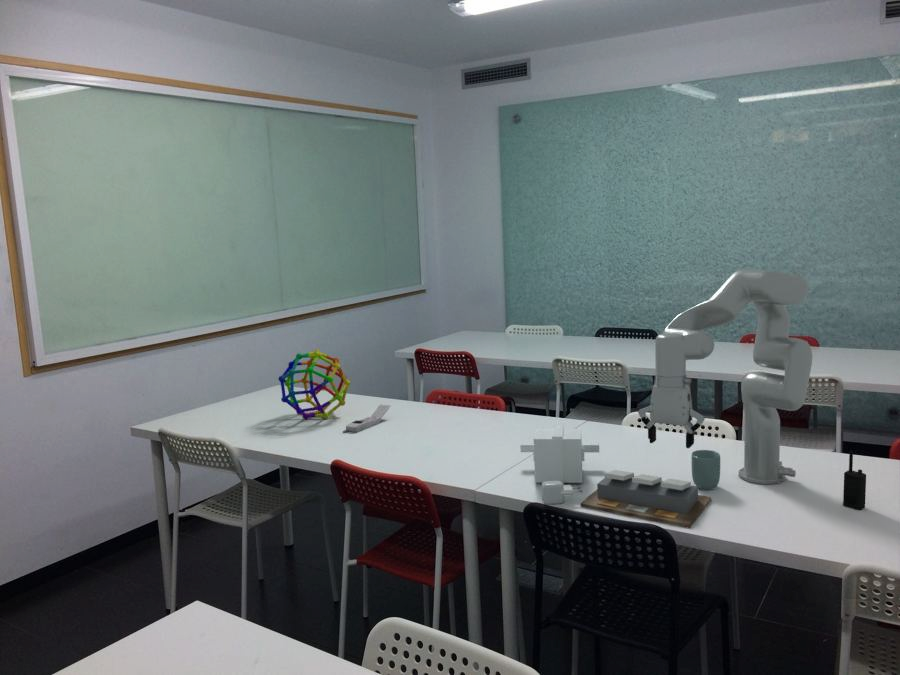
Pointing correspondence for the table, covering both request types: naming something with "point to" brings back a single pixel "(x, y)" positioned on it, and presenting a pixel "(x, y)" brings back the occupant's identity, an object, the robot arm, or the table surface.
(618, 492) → the switch housing
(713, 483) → the cup
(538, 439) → the blocky voxel creature
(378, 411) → the mobile phone
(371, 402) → the table surface
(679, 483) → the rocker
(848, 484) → the walkie-talkie
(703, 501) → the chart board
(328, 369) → the geometric model
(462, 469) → the table surface
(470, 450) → the table surface
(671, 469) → the table surface
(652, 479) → the rocker
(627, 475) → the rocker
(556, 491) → the power adapter
